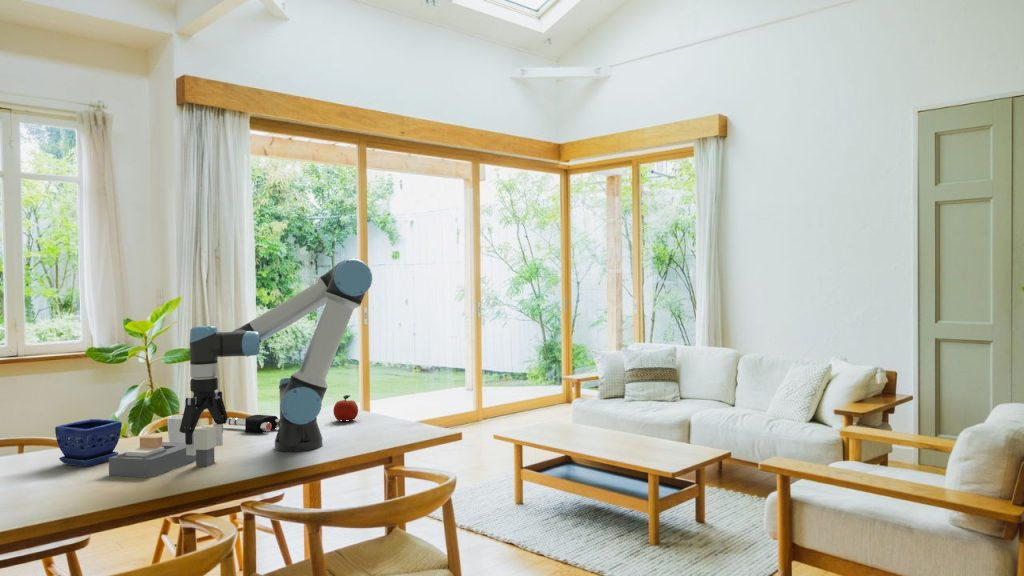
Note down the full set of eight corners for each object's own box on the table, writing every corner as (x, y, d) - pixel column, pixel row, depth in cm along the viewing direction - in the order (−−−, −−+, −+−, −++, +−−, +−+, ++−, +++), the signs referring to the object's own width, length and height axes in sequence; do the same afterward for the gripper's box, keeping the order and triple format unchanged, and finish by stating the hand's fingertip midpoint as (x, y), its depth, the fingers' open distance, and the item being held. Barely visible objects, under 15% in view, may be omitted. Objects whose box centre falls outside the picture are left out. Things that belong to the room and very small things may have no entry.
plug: (216, 463, 208) (215, 426, 208) (207, 467, 203) (206, 429, 203) (203, 462, 209) (203, 426, 209) (194, 466, 204) (193, 429, 204)
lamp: (264, 420, 247) (211, 416, 257) (264, 435, 247) (211, 430, 257) (284, 414, 257) (233, 411, 267) (285, 429, 257) (233, 425, 267)
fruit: (329, 423, 267) (328, 397, 267) (339, 418, 276) (339, 393, 276) (352, 423, 265) (352, 397, 265) (361, 418, 275) (361, 393, 275)
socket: (198, 459, 212) (198, 440, 212) (151, 477, 193) (151, 456, 193) (159, 457, 215) (158, 439, 215) (109, 475, 196) (108, 454, 195)
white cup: (183, 449, 226) (182, 419, 226) (162, 448, 227) (161, 418, 227) (198, 444, 234) (198, 414, 234) (178, 443, 235) (177, 414, 235)
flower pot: (124, 458, 215) (124, 420, 215) (85, 469, 203) (85, 428, 203) (92, 455, 219) (92, 418, 219) (53, 466, 207) (52, 426, 207)
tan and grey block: (163, 450, 202) (163, 436, 202) (146, 456, 196) (146, 442, 196) (143, 450, 204) (143, 435, 204) (125, 455, 197) (125, 441, 197)
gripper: (218, 372, 218) (219, 440, 218) (164, 383, 195) (165, 459, 195) (239, 372, 217) (240, 441, 217) (188, 383, 193) (189, 460, 193)
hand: (205, 450), depth 206 cm, fingers open, 12 cm apart
